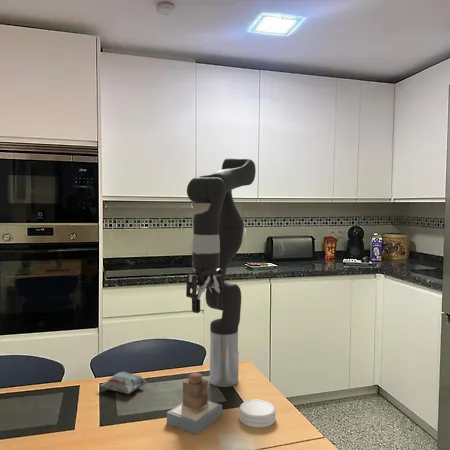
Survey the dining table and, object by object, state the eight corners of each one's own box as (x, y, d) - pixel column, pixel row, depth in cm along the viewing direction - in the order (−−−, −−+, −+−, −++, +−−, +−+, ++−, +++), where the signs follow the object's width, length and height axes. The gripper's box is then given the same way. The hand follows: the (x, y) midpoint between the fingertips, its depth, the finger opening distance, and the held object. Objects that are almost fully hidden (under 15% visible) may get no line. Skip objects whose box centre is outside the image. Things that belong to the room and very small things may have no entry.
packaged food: (129, 399, 128) (129, 383, 127) (99, 391, 133) (99, 376, 133) (147, 389, 135) (147, 374, 135) (118, 381, 141) (118, 367, 141)
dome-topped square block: (194, 402, 120) (194, 370, 119) (208, 407, 117) (208, 374, 116) (181, 409, 116) (181, 375, 115) (196, 414, 112) (196, 381, 112)
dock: (193, 405, 124) (193, 395, 124) (222, 415, 119) (222, 404, 119) (166, 423, 114) (166, 411, 114) (196, 434, 109) (196, 422, 109)
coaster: (245, 431, 111) (245, 418, 111) (235, 412, 121) (235, 400, 121) (280, 426, 114) (281, 413, 113) (268, 408, 123) (268, 397, 123)
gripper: (209, 247, 124) (209, 302, 125) (178, 252, 112) (178, 312, 113) (231, 249, 120) (230, 306, 121) (201, 254, 108) (201, 317, 109)
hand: (205, 309), depth 117 cm, fingers open, 8 cm apart
